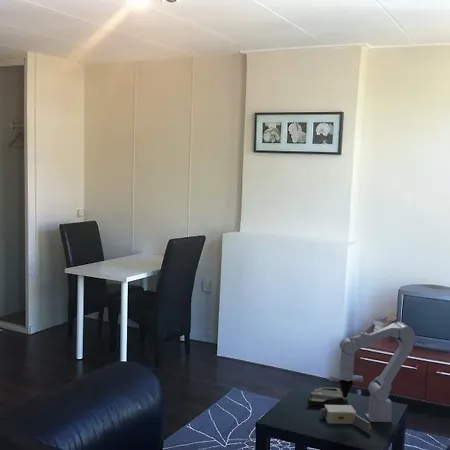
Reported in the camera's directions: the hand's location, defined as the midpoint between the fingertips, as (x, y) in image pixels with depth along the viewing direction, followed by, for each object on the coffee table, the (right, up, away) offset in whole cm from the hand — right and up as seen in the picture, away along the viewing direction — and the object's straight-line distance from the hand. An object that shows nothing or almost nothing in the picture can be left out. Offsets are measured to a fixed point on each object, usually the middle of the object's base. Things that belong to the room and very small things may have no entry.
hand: (344, 396), depth 264 cm
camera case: (-2, -10, 0) cm, 10 cm away
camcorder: (-4, -8, +20) cm, 22 cm away
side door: (+5, -11, -9) cm, 15 cm away
